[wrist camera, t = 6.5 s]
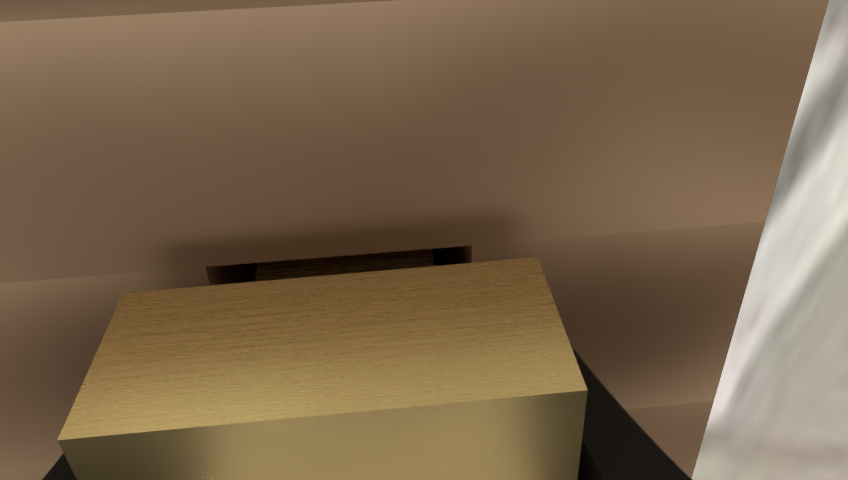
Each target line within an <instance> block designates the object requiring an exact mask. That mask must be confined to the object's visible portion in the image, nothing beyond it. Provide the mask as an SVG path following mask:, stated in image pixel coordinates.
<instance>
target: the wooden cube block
mask: <svg viewBox="0 0 848 480" xmlns="http://www.w3.org/2000/svg"><path fill="white" fill-rule="evenodd" d="M587 392H588V390H587V387H586V384H585V382H584V379H583V376H582V374H581V371H580V369H579V366H578V363H577V361H576V358H575V355H574V353H573V350H572V347H571V345H570V342H569V339H568V337H567V334H566V331H565V329H564V326H563V323H562V321H561V318H560V316H559V313H558V310H557V308H556V305H555V302H554V300H553V297H552V294H551V292H550V289H549V286H548V284H547V281H546V278H545V276H544V273H543V270H542V268H541V265H540V263H539V260H538V257H535V258H524V259H512V260H501V261H489V262H477V263H466V264H454V265H443V266H434V260H433V254H432V249H422V250H409V251H397V252H384V253H372V254H360V255H347V256H335V257H322V258H310V259H298V260H285V261H273V262H260V263H258V267H257V272H256V277H255V282H245V283H233V284H222V285H210V286H199V287H187V288H175V289H164V290H152V291H140V292H129V293H123V294H122V297H121V299H120V301H119V303H118V306H117V308H116V310H115V312H114V314H113V317H112V319H111V321H110V323H109V326H108V328H107V330H106V332H105V335H104V337H103V339H102V341H101V344H100V346H99V348H98V350H97V352H96V355H95V357H94V359H93V361H92V364H91V366H90V368H89V370H88V373H87V375H86V377H85V379H84V381H83V384H82V386H81V388H80V390H79V393H78V395H77V397H76V399H75V402H74V404H73V406H72V408H71V411H70V413H69V415H68V417H67V419H66V422H65V424H64V426H63V428H62V431H61V433H60V435H59V437H58V440H57V441H58V443H59V445H60V447H61V449H62V451H63V453H64V455H65V457H66V459H67V461H68V463H69V465H70V467H71V469H72V471H73V473H74V475H75V477H76V479H77V480H577V478H578V470H579V461H580V453H581V444H582V435H583V427H584V418H585V409H586V401H587Z"/></svg>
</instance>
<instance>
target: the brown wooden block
mask: <svg viewBox="0 0 848 480" xmlns="http://www.w3.org/2000/svg"><path fill="white" fill-rule="evenodd" d="M828 1H829V0H0V480H42V479H43V478H44V476H45V475H46V474H47V473H48V471H49V470H50V469H51V468H52V467H53V465H54V464H55V463H56V462H57V460H58V459H59V458H60V456H61V455H62V454H63V451H62V449H61V447H60V445H59V443H58V441H57V440H58V437H59V435H60V433H61V431H62V428H63V426H64V424H65V422H66V419H67V417H68V415H69V413H70V411H71V408H72V406H73V404H74V402H75V399H76V397H77V395H78V393H79V390H80V388H81V386H82V384H83V381H84V379H85V377H86V375H87V373H88V370H89V368H90V366H91V364H92V361H93V359H94V357H95V355H96V352H97V350H98V348H99V346H100V344H101V341H102V339H103V337H104V335H105V332H106V330H107V328H108V326H109V323H110V321H111V319H112V317H113V314H114V312H115V310H116V308H117V306H118V303H119V301H120V299H121V297H122V294H123V293H129V292H140V291H152V290H164V289H175V288H187V287H199V286H210V285H222V284H233V283H245V282H255V277H256V272H257V267H258V266H257V263H260V262H273V261H285V260H298V259H310V258H322V257H335V256H347V255H360V254H372V253H384V252H397V251H409V250H422V249H434V248H442V262H443V265H454V264H466V263H477V262H489V261H501V260H512V259H524V258H535V257H538V260H539V263H540V265H541V268H542V270H543V273H544V276H545V278H546V281H547V284H548V286H549V289H550V292H551V294H552V297H553V300H554V302H555V305H556V308H557V310H558V313H559V316H560V318H561V321H562V323H563V326H564V329H565V331H566V334H567V337H568V339H569V342H570V345H571V347H573V348H574V350H575V351H576V352H577V353H578V355H579V356H580V357H581V358H582V359H583V361H584V362H585V363H586V364H587V366H588V367H589V368H590V369H591V371H592V372H593V373H594V374H595V375H596V377H597V378H598V379H599V380H600V381H601V382H602V384H603V385H604V386H605V387H606V388H607V390H608V391H609V392H610V393H611V394H612V395H613V396H614V398H615V399H616V400H617V401H618V402H619V403H620V405H621V406H622V407H623V408H624V409H625V410H626V411H627V412H628V414H629V415H630V416H631V417H632V418H633V419H634V420H635V421H636V422H637V423H638V424H639V426H640V427H641V428H642V429H643V430H644V431H645V432H646V433H647V434H648V435H649V436H650V437H651V438H652V439H653V440H654V441H655V443H656V444H657V445H658V446H659V447H660V448H661V449H662V450H663V451H664V452H665V453H666V454H667V455H668V456H669V457H670V458H671V459H672V460H673V461H674V462H675V463H676V464H677V465H678V466H679V467H680V468H681V469H682V470H683V471H684V472H685V473H686V474H687V475H688V476H689V477H690V478H692V474H693V471H694V467H695V464H696V460H697V457H698V453H699V450H700V447H701V443H702V440H703V436H704V433H705V429H706V426H707V422H708V419H709V415H710V412H711V408H712V405H713V401H714V398H715V394H716V391H717V387H718V384H719V380H720V377H721V373H722V370H723V367H724V363H725V360H726V356H727V353H728V349H729V346H730V342H731V339H732V335H733V332H734V328H735V325H736V321H737V318H738V314H739V311H740V307H741V304H742V300H743V297H744V293H745V290H746V287H747V283H748V280H749V276H750V273H751V269H752V266H753V262H754V259H755V255H756V252H757V248H758V245H759V241H760V238H761V234H762V231H763V227H764V224H765V220H766V217H767V213H768V210H769V207H770V203H771V200H772V196H773V193H774V189H775V186H776V182H777V179H778V175H779V172H780V168H781V165H782V161H783V158H784V154H785V151H786V147H787V144H788V140H789V137H790V133H791V130H792V127H793V123H794V120H795V116H796V113H797V109H798V106H799V102H800V99H801V95H802V92H803V88H804V85H805V81H806V78H807V74H808V71H809V67H810V64H811V60H812V57H813V53H814V50H815V47H816V43H817V40H818V36H819V33H820V29H821V26H822V22H823V19H824V15H825V12H826V8H827V5H828Z"/></svg>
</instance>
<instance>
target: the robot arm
mask: <svg viewBox="0 0 848 480" xmlns="http://www.w3.org/2000/svg"><path fill="white" fill-rule="evenodd" d="M572 350H573V353H574V355H575V358H576V361H577V363H578V366H579V369H580V371H581V374H582V376H583V379H584V382H585V384H586V387H587V390H588V392H587V401H586V409H585V418H584V427H583V435H582V444H581V453H580V461H579V470H578V478H577V480H692V479H691V478H690V477H689V476H688V475H687V474H686V473H685V472H684V471H683V470H682V469H681V468H680V467H679V466H678V465H677V464H676V463H675V462H674V461H673V460H672V459H671V458H670V457H669V456H668V455H667V454H666V453H665V452H664V451H663V450H662V449H661V448H660V447H659V446H658V445H657V444H656V443H655V441H654V440H653V439H652V438H651V437H650V436H649V435H648V434H647V433H646V432H645V431H644V430H643V429H642V428H641V427H640V426H639V424H638V423H637V422H636V421H635V420H634V419H633V418H632V417H631V416H630V415H629V414H628V412H627V411H626V410H625V409H624V408H623V407H622V406H621V405H620V403H619V402H618V401H617V400H616V399H615V398H614V396H613V395H612V394H611V393H610V392H609V391H608V390H607V388H606V387H605V386H604V385H603V384H602V382H601V381H600V380H599V379H598V378H597V377H596V375H595V374H594V373H593V372H592V371H591V369H590V368H589V367H588V366H587V364H586V363H585V362H584V361H583V359H582V358H581V357H580V356H579V355H578V353H577V352H576V351H575V350H574V348H573V347H572ZM42 480H77V479H76V477H75V475H74V473H73V471H72V469H71V467H70V465H69V463H68V461H67V459H66V457H65V455H64V453H63V454H62V455H61V456H60V458H59V459H58V460H57V462H56V463H55V464H54V465H53V467H52V468H51V469H50V470H49V471H48V473H47V474H46V475H45V476H44V478H43V479H42Z"/></svg>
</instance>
